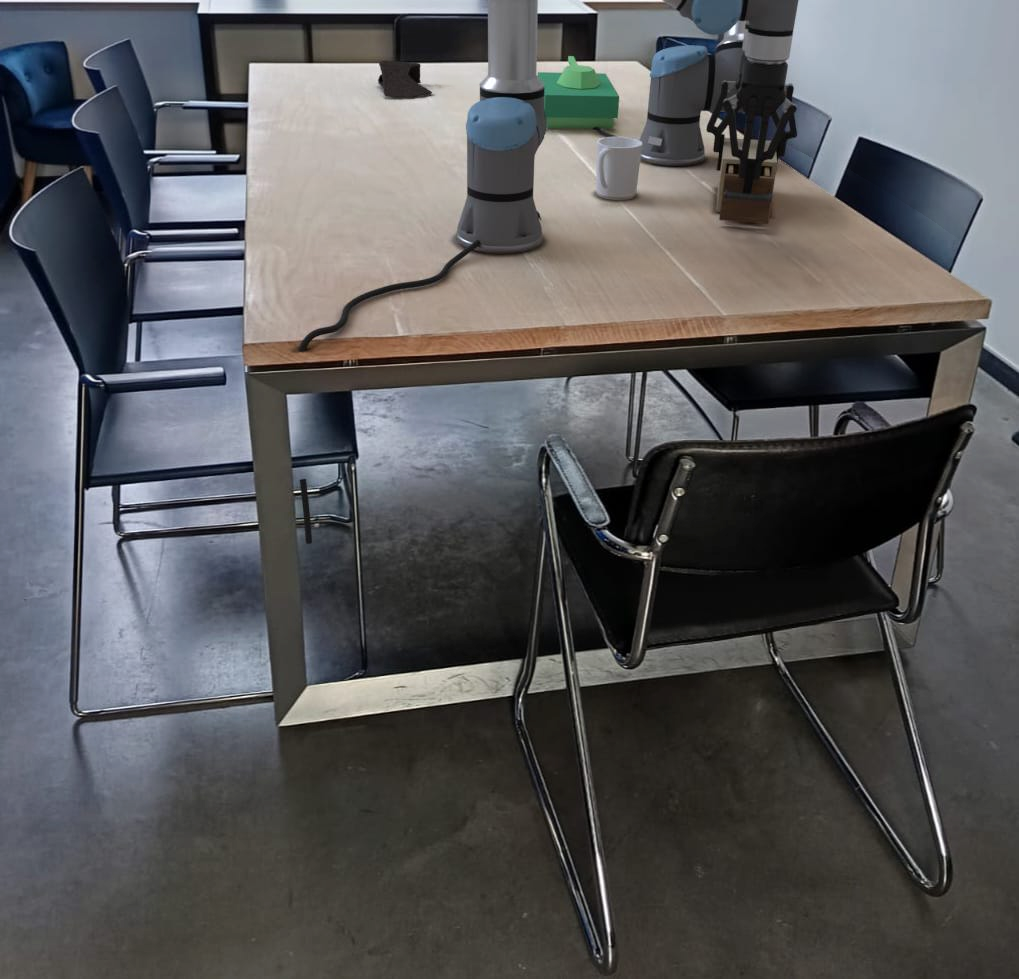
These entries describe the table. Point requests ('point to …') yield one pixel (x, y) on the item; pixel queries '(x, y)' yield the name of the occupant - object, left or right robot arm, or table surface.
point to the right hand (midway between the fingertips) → (746, 170)
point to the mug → (617, 167)
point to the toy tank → (579, 98)
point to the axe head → (401, 79)
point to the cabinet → (729, 159)
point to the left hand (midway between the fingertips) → (746, 196)
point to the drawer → (746, 197)
